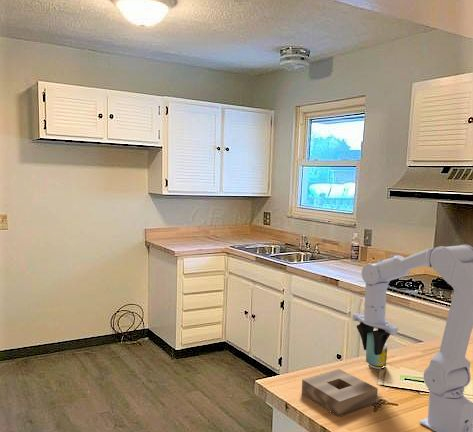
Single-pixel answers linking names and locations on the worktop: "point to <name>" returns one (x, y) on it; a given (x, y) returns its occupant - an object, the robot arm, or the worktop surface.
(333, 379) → the socket block
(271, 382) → the worktop surface
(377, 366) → the supplement bottle
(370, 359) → the teal pin
